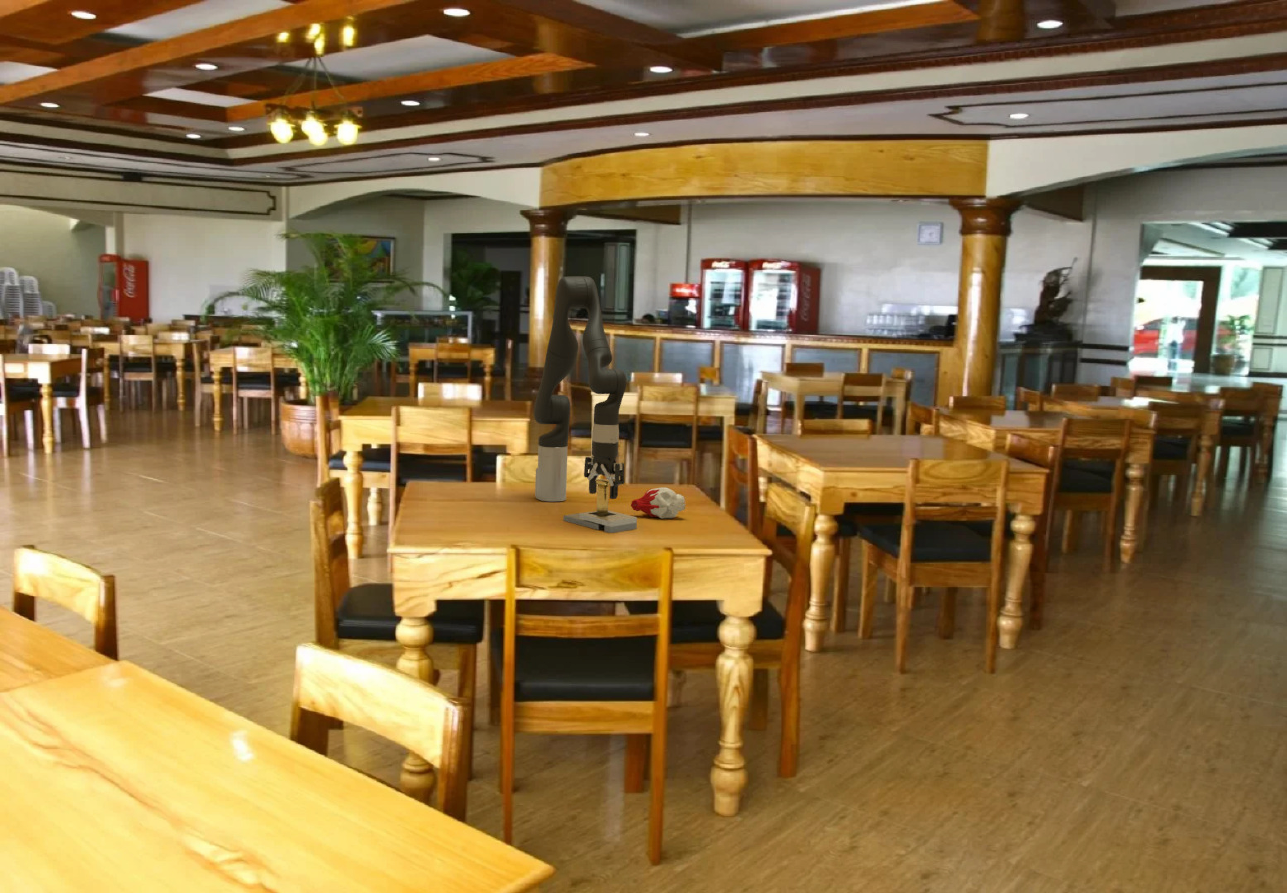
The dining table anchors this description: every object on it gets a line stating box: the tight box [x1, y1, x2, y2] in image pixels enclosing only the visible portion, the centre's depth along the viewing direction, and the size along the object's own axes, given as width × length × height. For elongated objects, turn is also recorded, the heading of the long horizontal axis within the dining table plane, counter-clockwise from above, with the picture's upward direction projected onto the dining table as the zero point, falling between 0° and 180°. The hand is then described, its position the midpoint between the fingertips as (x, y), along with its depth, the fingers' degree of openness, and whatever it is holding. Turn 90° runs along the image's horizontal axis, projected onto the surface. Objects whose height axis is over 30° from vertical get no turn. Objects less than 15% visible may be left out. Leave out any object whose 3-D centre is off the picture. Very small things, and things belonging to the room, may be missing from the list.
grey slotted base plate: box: [563, 509, 638, 534], centre depth 307 cm, size 20×10×3 cm, turn 45°
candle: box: [630, 487, 687, 519], centre depth 321 cm, size 9×11×15 cm
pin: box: [596, 478, 611, 517], centre depth 305 cm, size 4×4×13 cm
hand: (602, 496), depth 305 cm, fingers open, 8 cm apart
